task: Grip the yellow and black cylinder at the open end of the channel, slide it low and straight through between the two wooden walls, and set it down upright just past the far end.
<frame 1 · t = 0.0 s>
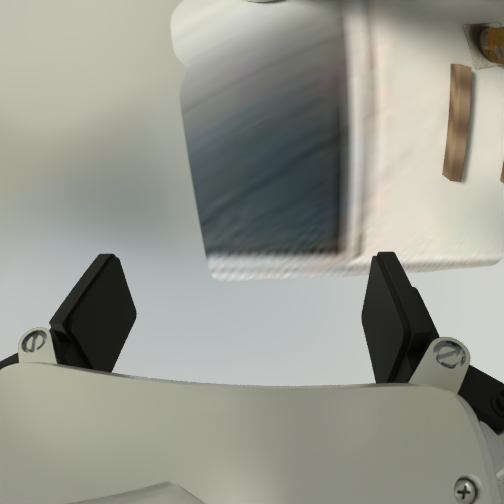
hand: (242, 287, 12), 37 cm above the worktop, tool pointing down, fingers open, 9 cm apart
yellow and black cylinder: (487, 44, 32), on the worktop
channel: (484, 126, 39), on the worktop
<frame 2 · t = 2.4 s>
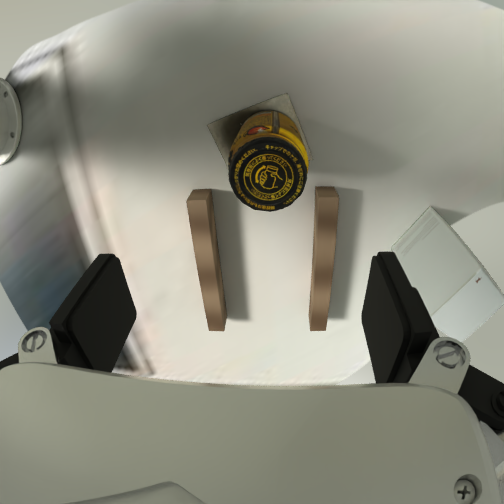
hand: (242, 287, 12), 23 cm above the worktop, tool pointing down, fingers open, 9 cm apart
yellow and black cylinder: (260, 140, 31), on the worktop
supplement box: (426, 242, 36), on the worktop
channel: (265, 259, 39), on the worktop
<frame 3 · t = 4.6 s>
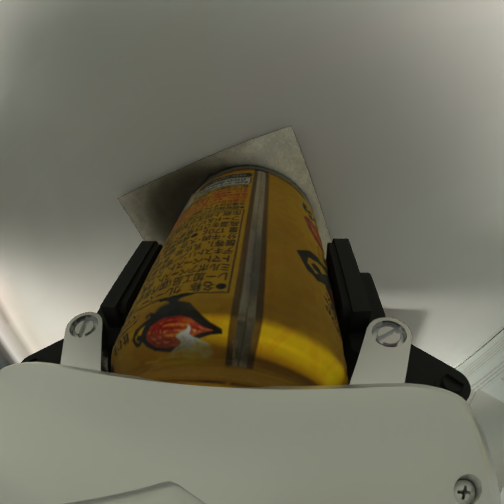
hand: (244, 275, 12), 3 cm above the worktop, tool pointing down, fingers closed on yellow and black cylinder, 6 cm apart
yellow and black cylinder: (231, 228, 15), on the worktop, touching gripper
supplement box: (494, 358, 20), on the worktop
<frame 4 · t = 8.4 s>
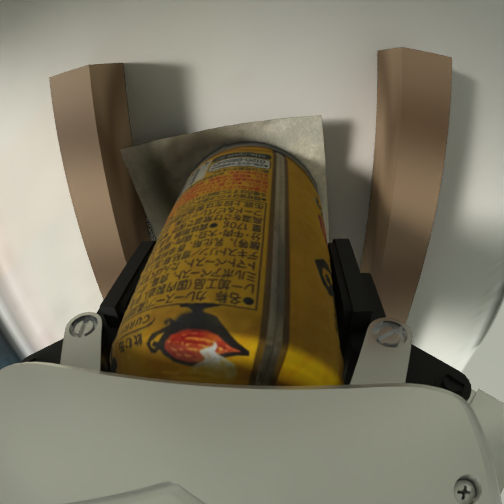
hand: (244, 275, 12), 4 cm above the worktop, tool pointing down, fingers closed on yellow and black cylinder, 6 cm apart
yellow and black cylinder: (232, 200, 15), on the worktop, touching gripper
channel: (254, 236, 16), on the worktop
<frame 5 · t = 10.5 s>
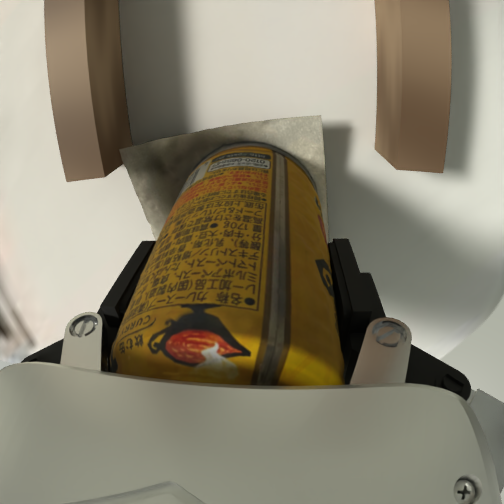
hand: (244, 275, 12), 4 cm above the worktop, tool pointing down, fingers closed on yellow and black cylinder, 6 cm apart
yellow and black cylinder: (231, 200, 15), on the worktop, touching gripper
when the fingers open (4 cm above the worktop, at t = 12.2 s): yellow and black cylinder stays where it is, on the worktop.
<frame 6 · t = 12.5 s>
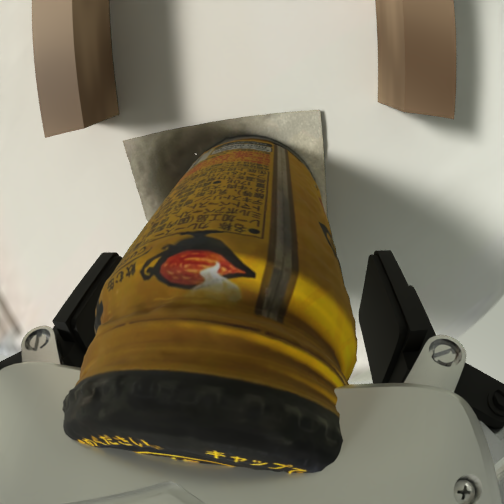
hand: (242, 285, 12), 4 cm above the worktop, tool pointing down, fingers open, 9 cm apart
yellow and black cylinder: (231, 198, 15), on the worktop
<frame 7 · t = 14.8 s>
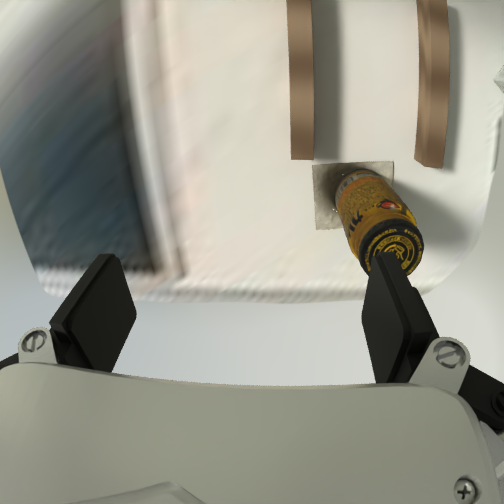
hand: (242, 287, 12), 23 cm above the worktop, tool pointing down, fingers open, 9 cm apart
yellow and black cylinder: (353, 194, 33), on the worktop
channel: (367, 67, 26), on the worktop
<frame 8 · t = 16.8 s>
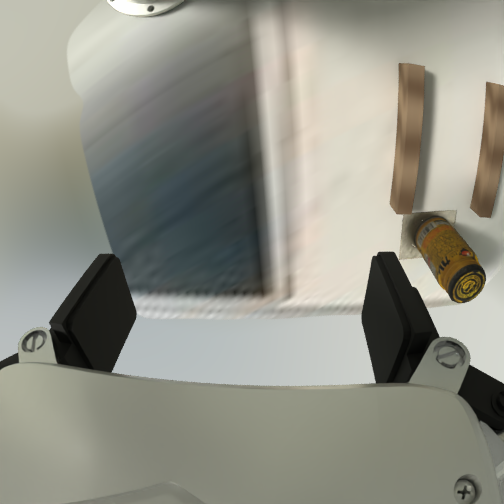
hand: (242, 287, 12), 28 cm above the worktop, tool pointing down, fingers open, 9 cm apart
yellow and black cylinder: (427, 233, 41), on the worktop
channel: (448, 141, 34), on the worktop
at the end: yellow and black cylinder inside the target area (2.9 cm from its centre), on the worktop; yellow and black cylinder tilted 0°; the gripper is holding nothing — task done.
